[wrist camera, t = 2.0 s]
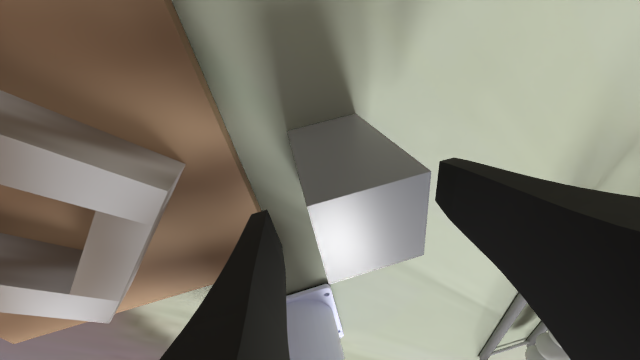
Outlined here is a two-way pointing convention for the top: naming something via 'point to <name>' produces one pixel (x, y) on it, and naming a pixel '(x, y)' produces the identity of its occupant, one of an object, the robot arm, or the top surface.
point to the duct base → (137, 105)
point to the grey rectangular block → (360, 196)
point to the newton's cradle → (544, 355)
